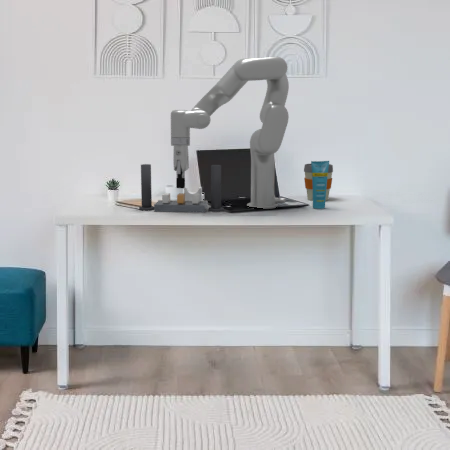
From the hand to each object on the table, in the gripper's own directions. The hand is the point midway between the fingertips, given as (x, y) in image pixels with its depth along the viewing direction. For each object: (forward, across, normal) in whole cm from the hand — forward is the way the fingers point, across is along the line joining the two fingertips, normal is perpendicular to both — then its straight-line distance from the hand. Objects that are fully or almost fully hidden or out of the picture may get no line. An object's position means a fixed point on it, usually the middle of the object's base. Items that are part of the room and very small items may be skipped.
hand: (180, 187), depth 307 cm
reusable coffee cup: (+9, +32, -55) cm, 64 cm away
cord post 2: (+9, 0, -14) cm, 17 cm away
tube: (+9, +9, -55) cm, 57 cm away
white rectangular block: (+6, 0, +6) cm, 8 cm away
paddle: (+6, 0, -6) cm, 8 cm away
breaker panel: (+9, 0, 0) cm, 9 cm away
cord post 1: (+9, 0, +14) cm, 16 cm away
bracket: (+9, +19, -3) cm, 21 cm away
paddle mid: (+6, 0, 0) cm, 6 cm away
